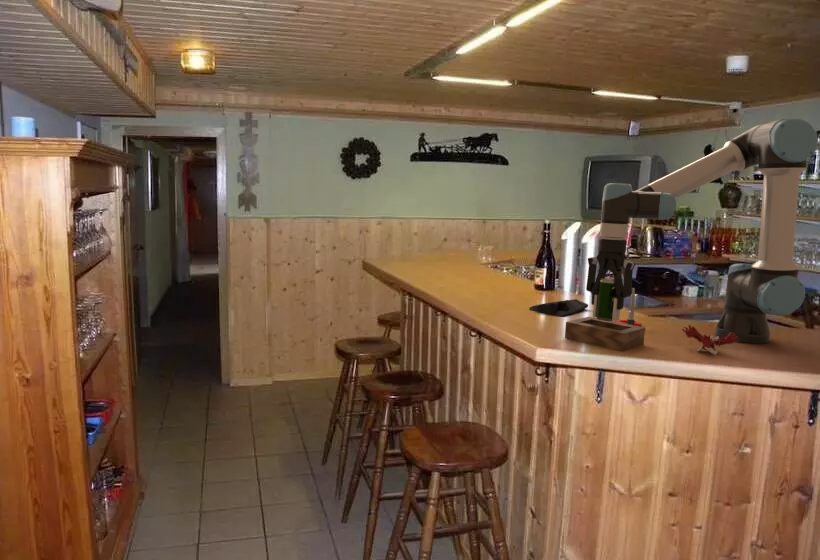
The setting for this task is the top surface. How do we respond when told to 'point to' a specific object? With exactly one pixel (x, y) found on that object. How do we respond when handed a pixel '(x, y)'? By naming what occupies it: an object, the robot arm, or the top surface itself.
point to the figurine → (710, 339)
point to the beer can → (606, 299)
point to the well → (605, 333)
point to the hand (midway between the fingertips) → (605, 318)
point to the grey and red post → (631, 312)
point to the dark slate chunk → (560, 307)
